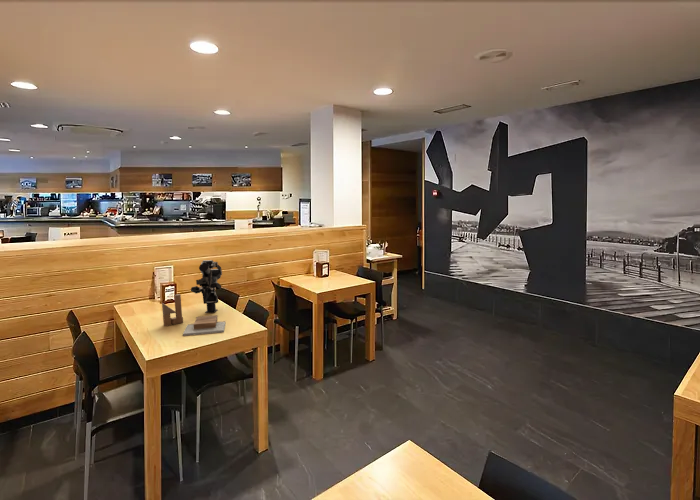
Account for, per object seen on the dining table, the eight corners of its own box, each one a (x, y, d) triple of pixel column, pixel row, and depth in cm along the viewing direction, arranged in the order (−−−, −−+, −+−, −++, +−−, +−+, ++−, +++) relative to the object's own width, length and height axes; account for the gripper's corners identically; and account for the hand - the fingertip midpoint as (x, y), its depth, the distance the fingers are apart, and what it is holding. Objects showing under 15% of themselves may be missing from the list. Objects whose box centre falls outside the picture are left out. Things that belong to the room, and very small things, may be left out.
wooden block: (163, 325, 245) (161, 296, 242) (181, 321, 251) (179, 293, 249) (165, 326, 242) (162, 297, 239) (183, 322, 248) (181, 294, 246)
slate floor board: (187, 325, 242) (187, 323, 242) (225, 322, 247) (225, 320, 247) (182, 335, 225) (182, 333, 224) (223, 332, 230) (223, 329, 230)
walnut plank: (196, 316, 245) (193, 324, 232) (217, 315, 248) (215, 322, 234) (197, 321, 246) (194, 329, 232) (217, 319, 248) (215, 327, 235)
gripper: (186, 276, 256) (184, 299, 249) (212, 270, 253) (211, 293, 246) (196, 282, 266) (195, 304, 259) (222, 276, 262) (221, 299, 255)
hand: (205, 300), depth 254 cm, fingers closed
